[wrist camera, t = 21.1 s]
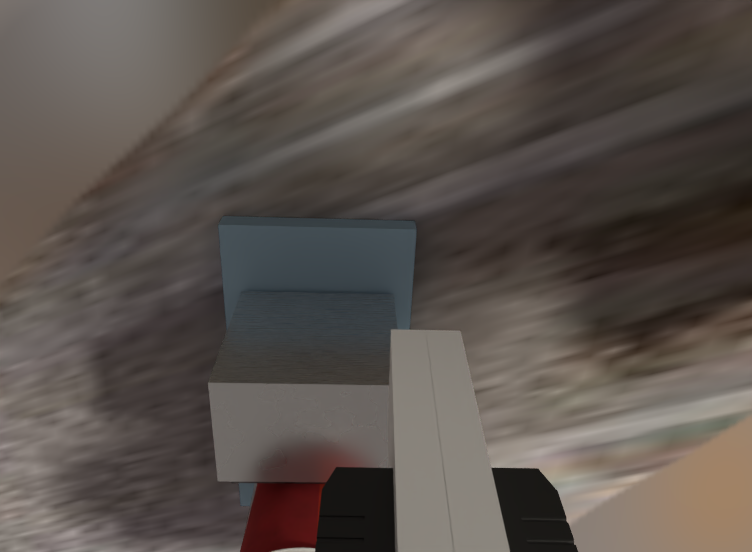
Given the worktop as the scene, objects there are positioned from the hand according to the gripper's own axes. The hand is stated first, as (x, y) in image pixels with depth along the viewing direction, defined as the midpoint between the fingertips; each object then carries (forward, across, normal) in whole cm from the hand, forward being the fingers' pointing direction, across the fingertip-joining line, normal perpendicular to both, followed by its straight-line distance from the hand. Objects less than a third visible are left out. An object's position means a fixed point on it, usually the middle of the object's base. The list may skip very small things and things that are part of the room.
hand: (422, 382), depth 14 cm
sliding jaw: (+23, -5, -14) cm, 27 cm away
